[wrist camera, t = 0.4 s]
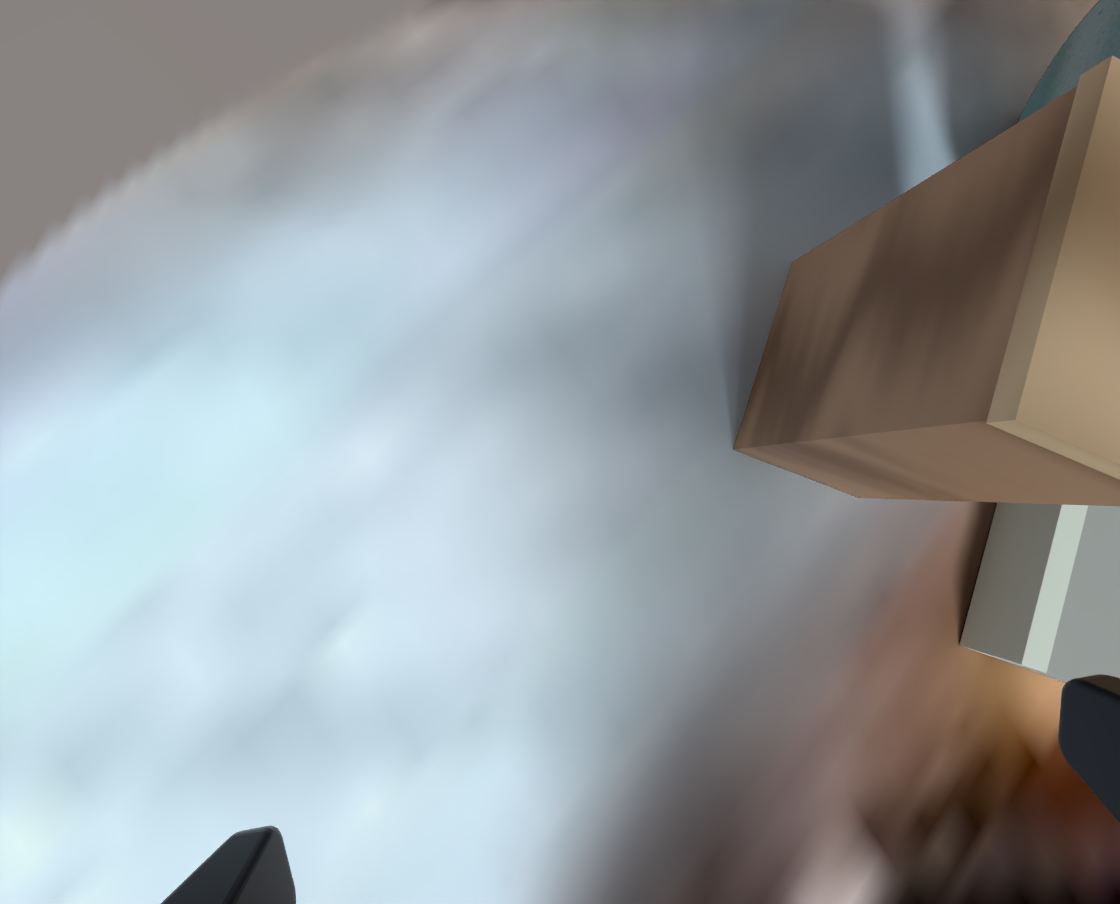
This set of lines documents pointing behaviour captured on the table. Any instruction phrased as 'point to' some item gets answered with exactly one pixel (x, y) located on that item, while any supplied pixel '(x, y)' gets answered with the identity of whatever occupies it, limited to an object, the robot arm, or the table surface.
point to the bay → (1050, 590)
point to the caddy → (964, 327)
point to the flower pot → (1079, 54)
